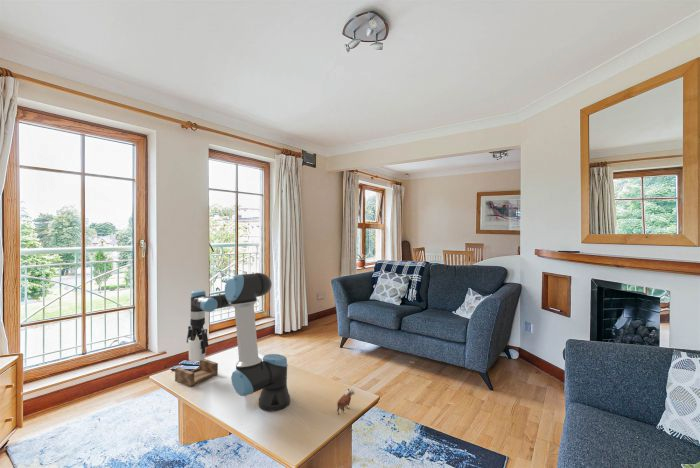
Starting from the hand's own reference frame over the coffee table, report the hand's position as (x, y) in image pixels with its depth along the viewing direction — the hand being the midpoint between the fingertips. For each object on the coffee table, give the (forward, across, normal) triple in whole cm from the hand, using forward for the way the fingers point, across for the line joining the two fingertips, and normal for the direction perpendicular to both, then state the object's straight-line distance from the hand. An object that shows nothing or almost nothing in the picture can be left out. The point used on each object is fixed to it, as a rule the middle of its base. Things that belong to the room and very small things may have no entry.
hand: (197, 357), depth 182 cm
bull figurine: (+12, -89, -16) cm, 91 cm away
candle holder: (+1, 0, 0) cm, 1 cm away
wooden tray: (+12, 0, 0) cm, 12 cm away
